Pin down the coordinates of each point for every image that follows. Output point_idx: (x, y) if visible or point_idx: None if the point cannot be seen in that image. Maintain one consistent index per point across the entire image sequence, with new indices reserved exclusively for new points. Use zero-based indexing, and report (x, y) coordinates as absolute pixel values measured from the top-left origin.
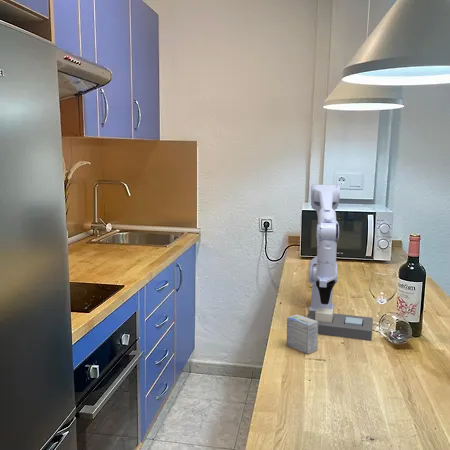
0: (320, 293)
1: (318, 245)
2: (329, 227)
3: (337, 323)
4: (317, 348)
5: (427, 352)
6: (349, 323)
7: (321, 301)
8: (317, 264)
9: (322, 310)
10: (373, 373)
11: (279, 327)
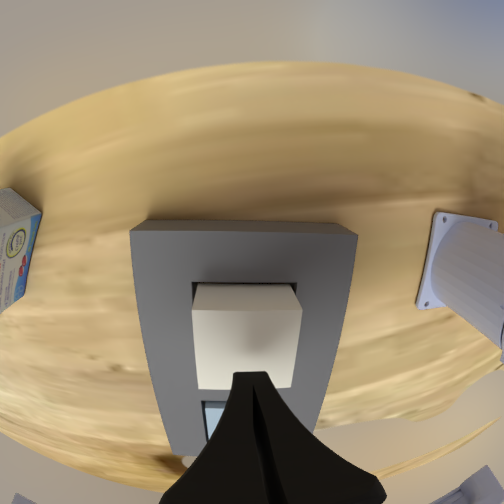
0: (213, 437)
1: None
2: None
3: (195, 382)
4: (19, 297)
5: (170, 484)
6: (206, 417)
7: (231, 386)
8: None
9: (250, 344)
10: (18, 398)
11: (174, 93)
